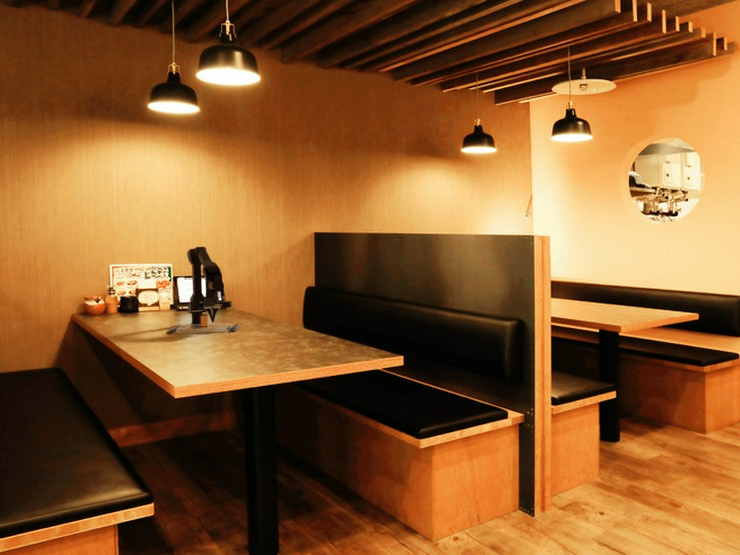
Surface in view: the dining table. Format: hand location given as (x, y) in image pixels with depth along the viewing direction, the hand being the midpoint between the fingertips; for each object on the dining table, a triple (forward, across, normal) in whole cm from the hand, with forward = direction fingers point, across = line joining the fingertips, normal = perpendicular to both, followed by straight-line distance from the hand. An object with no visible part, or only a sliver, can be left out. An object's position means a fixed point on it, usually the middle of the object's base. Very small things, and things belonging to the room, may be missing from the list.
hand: (212, 322), depth 308 cm
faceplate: (+4, -4, 0) cm, 6 cm away
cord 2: (+4, +10, 0) cm, 11 cm away
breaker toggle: (+2, -4, 0) cm, 4 cm away
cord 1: (+4, -18, 0) cm, 19 cm away
